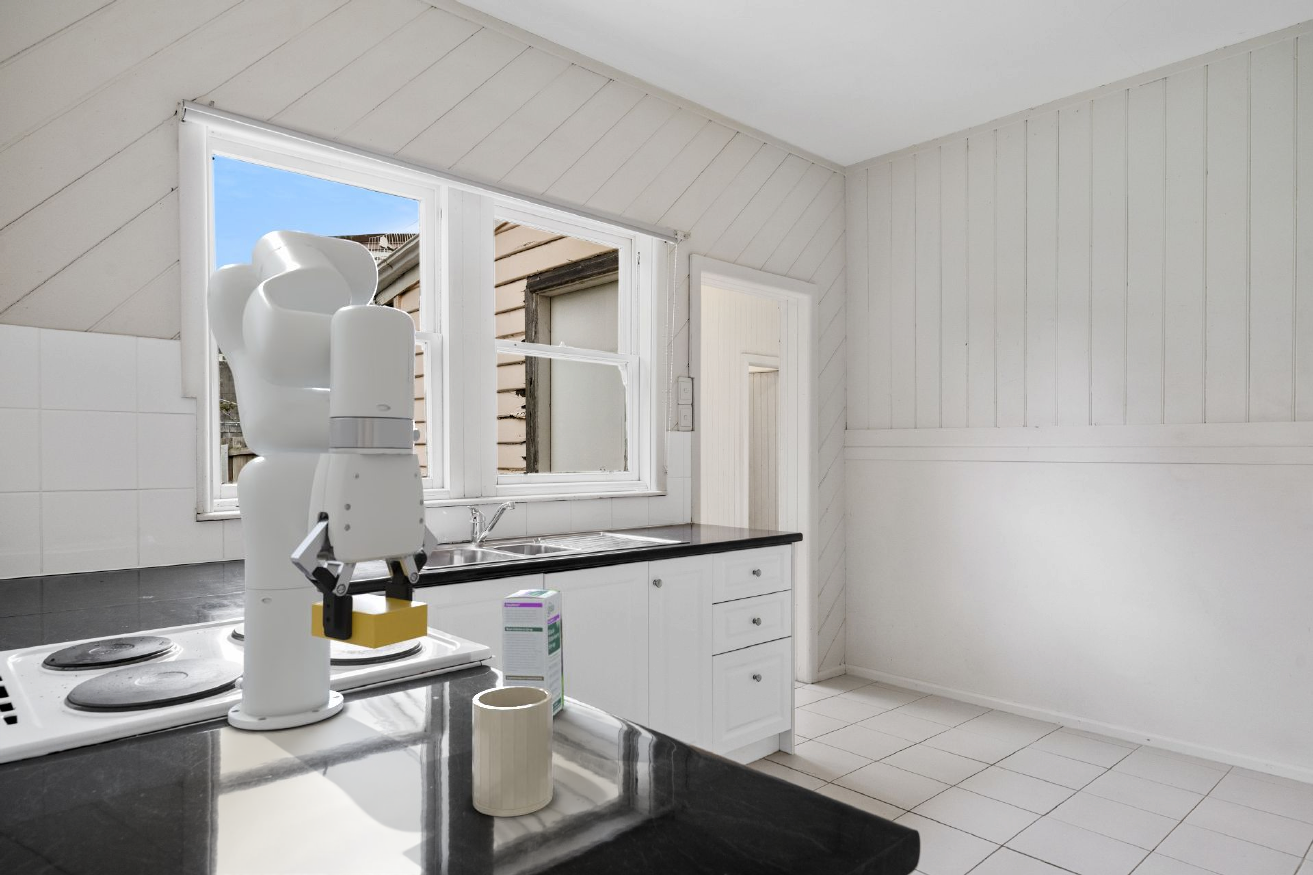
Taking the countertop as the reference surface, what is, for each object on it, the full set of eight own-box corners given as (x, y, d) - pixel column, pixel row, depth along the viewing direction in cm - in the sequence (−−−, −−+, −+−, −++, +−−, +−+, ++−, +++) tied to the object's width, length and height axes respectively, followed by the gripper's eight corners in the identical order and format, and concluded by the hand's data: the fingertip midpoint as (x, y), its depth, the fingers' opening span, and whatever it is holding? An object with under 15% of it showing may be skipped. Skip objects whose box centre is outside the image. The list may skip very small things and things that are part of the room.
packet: (310, 635, 71) (311, 603, 71) (365, 623, 76) (365, 593, 76) (373, 649, 66) (374, 614, 66) (427, 635, 71) (428, 603, 71)
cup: (455, 804, 66) (455, 701, 67) (510, 777, 72) (510, 681, 73) (515, 824, 63) (515, 713, 63) (568, 792, 69) (568, 692, 69)
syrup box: (548, 723, 88) (548, 596, 88) (500, 720, 89) (500, 595, 89) (564, 707, 93) (564, 589, 94) (519, 705, 94) (519, 588, 95)
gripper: (417, 440, 81) (415, 610, 80) (260, 437, 66) (256, 644, 66) (468, 440, 77) (465, 618, 77) (313, 436, 62) (309, 657, 62)
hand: (369, 628), depth 71 cm, fingers closed on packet, 6 cm apart
